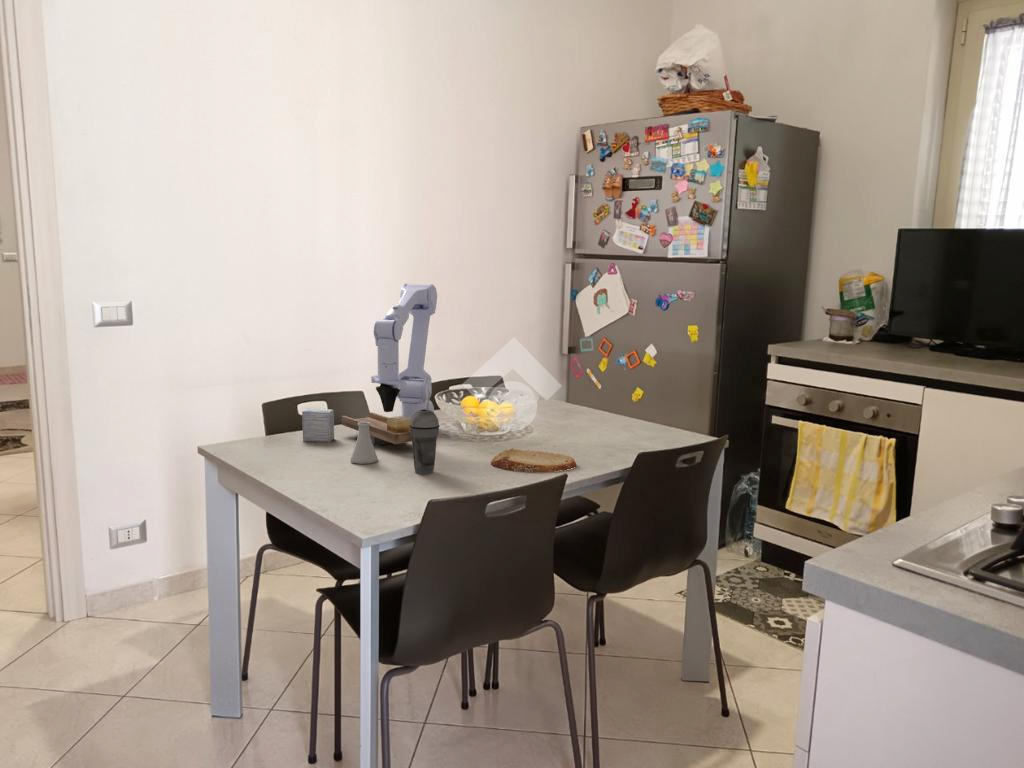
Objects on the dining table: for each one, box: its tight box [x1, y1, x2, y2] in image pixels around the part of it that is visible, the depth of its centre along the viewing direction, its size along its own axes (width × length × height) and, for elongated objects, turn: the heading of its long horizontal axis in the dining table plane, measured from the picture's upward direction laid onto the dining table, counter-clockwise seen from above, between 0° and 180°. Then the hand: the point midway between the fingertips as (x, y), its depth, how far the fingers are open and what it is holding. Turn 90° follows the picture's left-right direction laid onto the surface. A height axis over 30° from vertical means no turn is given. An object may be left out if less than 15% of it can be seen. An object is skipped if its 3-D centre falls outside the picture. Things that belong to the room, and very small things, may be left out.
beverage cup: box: [409, 391, 440, 475], centre depth 195 cm, size 7×7×20 cm
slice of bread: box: [490, 448, 578, 473], centre depth 205 cm, size 18×18×4 cm
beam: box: [341, 411, 412, 445], centre depth 226 cm, size 10×28×3 cm, turn 41°
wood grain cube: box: [387, 415, 411, 434], centre depth 219 cm, size 5×5×4 cm
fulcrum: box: [370, 435, 390, 446], centre depth 225 cm, size 8×2×3 cm, turn 131°
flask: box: [350, 422, 379, 465], centre depth 205 cm, size 7×7×10 cm
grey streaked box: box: [301, 408, 335, 443], centre depth 227 cm, size 8×4×9 cm, turn 84°
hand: (388, 411), depth 223 cm, fingers closed
